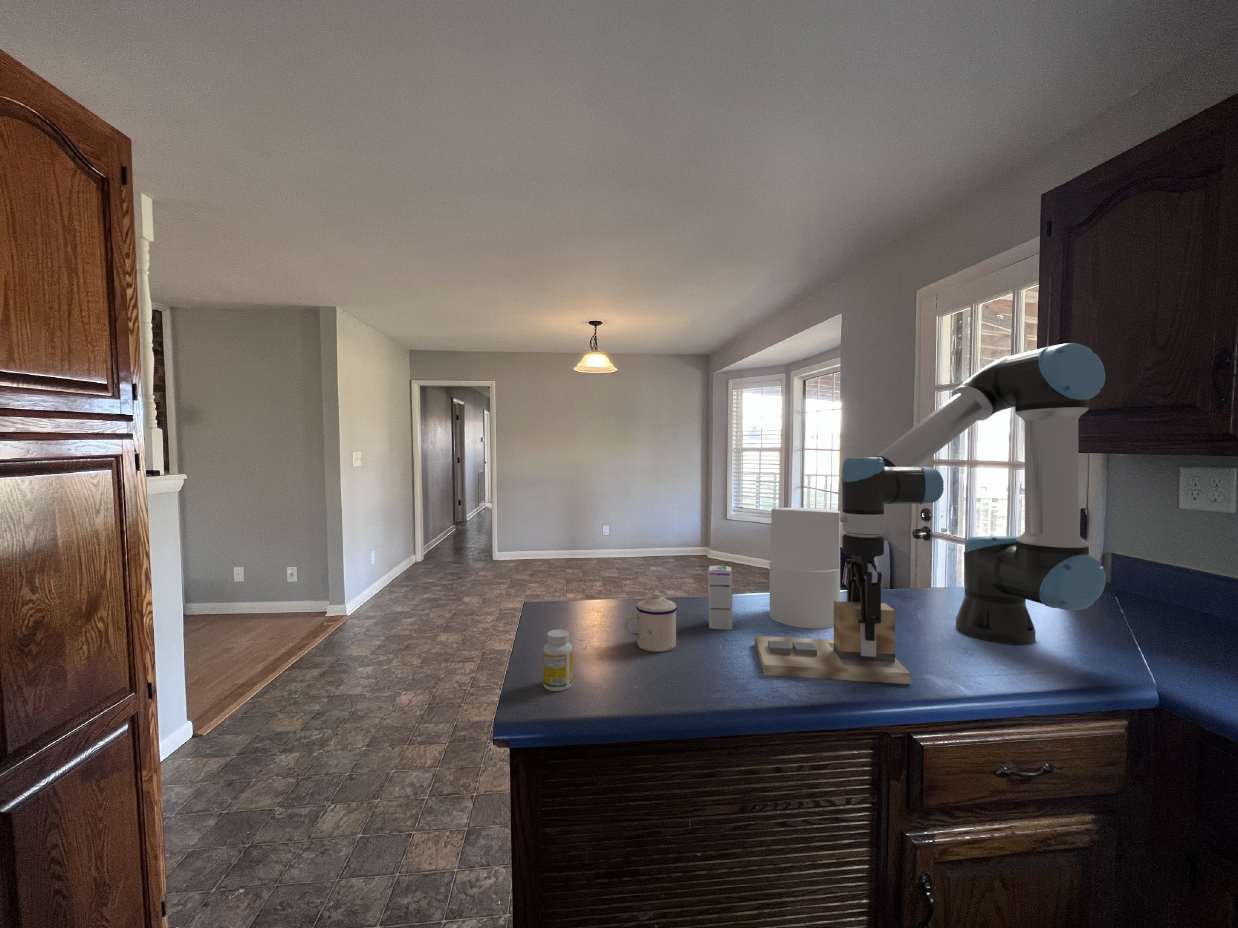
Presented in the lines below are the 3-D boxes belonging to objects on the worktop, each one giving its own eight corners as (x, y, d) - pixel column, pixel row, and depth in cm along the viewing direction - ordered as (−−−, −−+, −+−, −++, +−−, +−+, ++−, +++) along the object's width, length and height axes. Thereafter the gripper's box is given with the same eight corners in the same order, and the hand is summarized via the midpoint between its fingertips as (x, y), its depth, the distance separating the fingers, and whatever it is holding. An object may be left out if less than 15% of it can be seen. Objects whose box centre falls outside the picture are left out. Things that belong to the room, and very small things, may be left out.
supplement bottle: (557, 694, 88) (556, 640, 88) (537, 685, 92) (536, 633, 92) (578, 684, 92) (578, 632, 92) (558, 676, 96) (558, 626, 96)
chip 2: (812, 648, 104) (812, 642, 104) (817, 655, 100) (817, 649, 100) (792, 647, 105) (792, 641, 105) (796, 654, 101) (796, 648, 101)
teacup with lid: (668, 636, 117) (668, 586, 117) (683, 650, 109) (683, 596, 109) (618, 641, 114) (618, 590, 114) (630, 656, 105) (630, 601, 105)
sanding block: (885, 651, 102) (885, 602, 102) (895, 661, 97) (895, 610, 97) (833, 649, 104) (833, 601, 104) (840, 658, 99) (840, 608, 99)
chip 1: (787, 647, 105) (787, 641, 105) (791, 654, 101) (791, 648, 101) (767, 646, 106) (767, 640, 106) (770, 653, 102) (770, 647, 102)
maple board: (879, 651, 108) (879, 641, 108) (910, 683, 92) (910, 672, 92) (754, 644, 112) (754, 635, 112) (764, 674, 96) (764, 664, 96)
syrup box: (732, 630, 121) (732, 570, 121) (707, 628, 123) (707, 569, 122) (732, 622, 127) (732, 565, 127) (708, 621, 128) (708, 564, 128)
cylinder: (781, 604, 143) (781, 506, 143) (846, 615, 133) (846, 509, 133) (760, 619, 129) (760, 511, 129) (830, 633, 119) (831, 515, 119)
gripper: (830, 527, 110) (831, 633, 110) (857, 541, 92) (858, 667, 92) (867, 528, 109) (867, 635, 109) (901, 541, 91) (901, 669, 91)
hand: (863, 649), depth 100 cm, fingers closed on sanding block, 5 cm apart
